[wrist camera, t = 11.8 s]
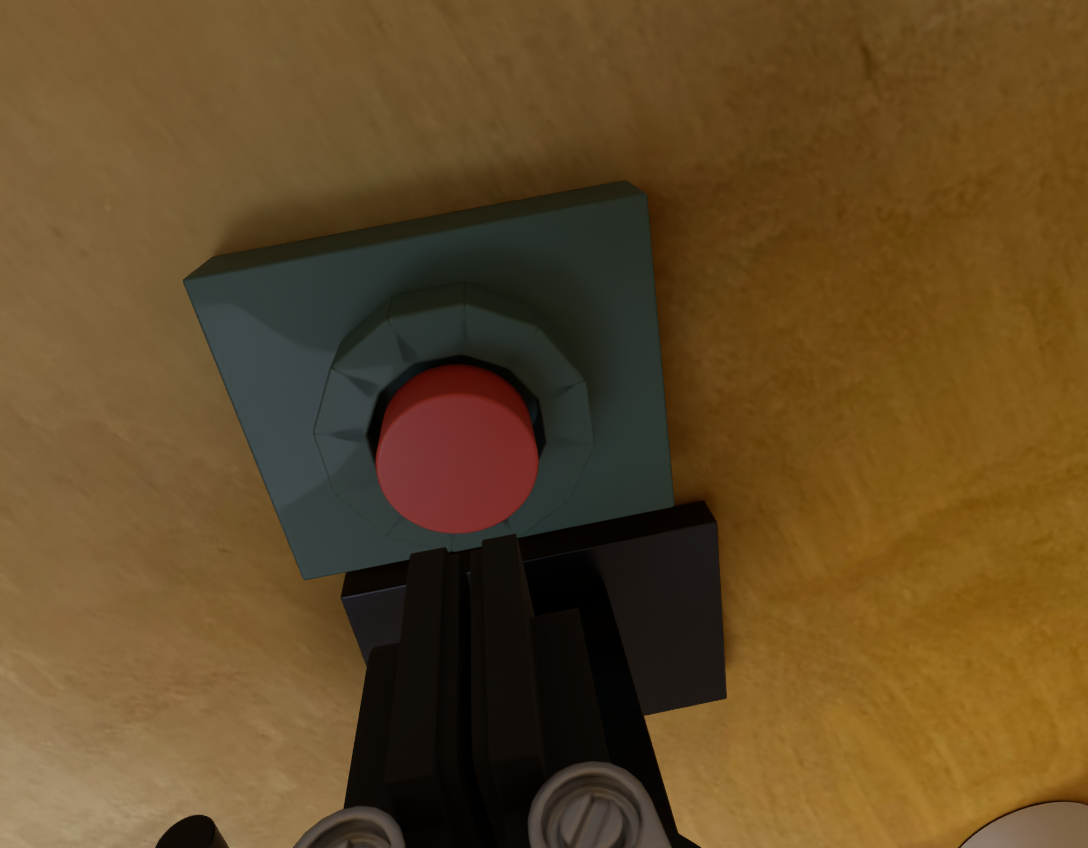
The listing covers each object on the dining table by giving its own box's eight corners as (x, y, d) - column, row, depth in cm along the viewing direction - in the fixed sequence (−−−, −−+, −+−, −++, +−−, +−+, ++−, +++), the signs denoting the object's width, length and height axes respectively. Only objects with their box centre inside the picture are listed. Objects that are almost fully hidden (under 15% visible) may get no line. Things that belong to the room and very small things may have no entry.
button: (403, 507, 18) (398, 548, 16) (364, 378, 16) (355, 411, 15) (542, 479, 18) (550, 518, 17) (517, 349, 16) (524, 378, 15)
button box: (316, 537, 22) (290, 625, 19) (209, 256, 18) (150, 302, 15) (656, 469, 23) (693, 543, 19) (627, 179, 19) (668, 205, 15)
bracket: (405, 736, 27) (370, 1230, 15) (345, 571, 23) (240, 1058, 12) (715, 672, 27) (905, 1109, 16) (704, 499, 23) (940, 905, 12)
